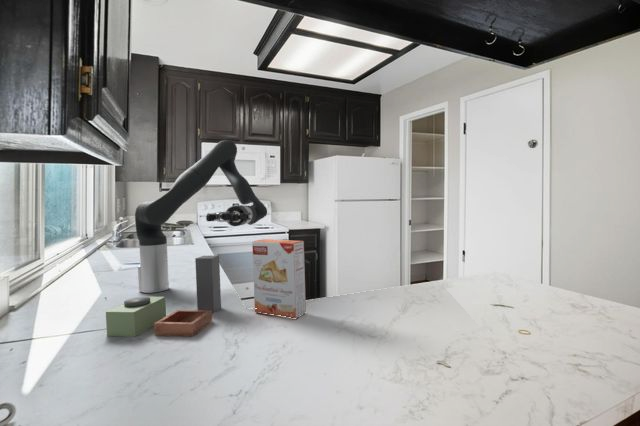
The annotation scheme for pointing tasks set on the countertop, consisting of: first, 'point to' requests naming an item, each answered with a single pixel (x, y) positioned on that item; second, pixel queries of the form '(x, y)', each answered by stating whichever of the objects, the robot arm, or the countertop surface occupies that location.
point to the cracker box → (279, 277)
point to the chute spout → (208, 283)
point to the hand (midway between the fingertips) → (219, 218)
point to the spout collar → (183, 323)
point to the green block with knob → (135, 316)
